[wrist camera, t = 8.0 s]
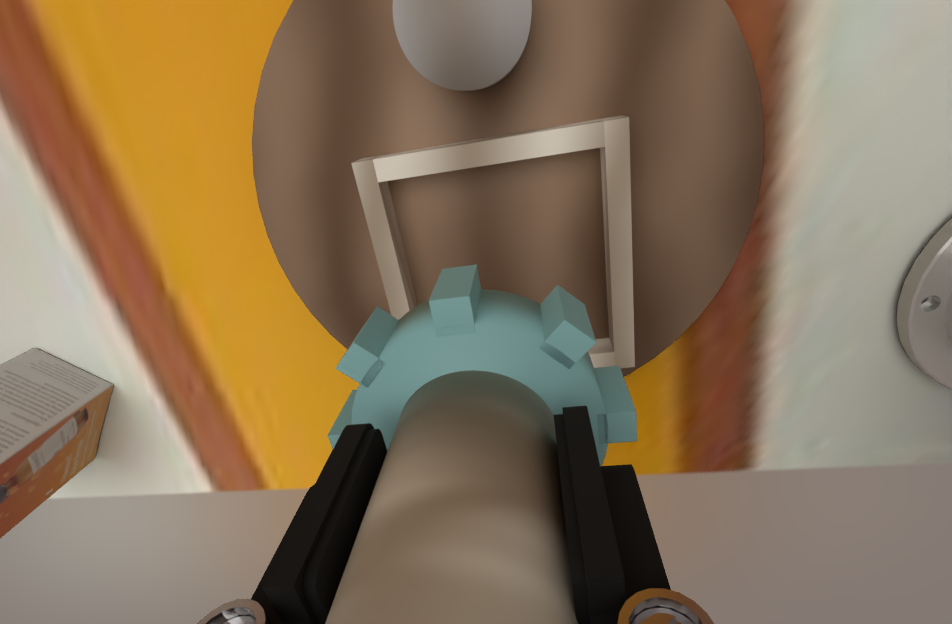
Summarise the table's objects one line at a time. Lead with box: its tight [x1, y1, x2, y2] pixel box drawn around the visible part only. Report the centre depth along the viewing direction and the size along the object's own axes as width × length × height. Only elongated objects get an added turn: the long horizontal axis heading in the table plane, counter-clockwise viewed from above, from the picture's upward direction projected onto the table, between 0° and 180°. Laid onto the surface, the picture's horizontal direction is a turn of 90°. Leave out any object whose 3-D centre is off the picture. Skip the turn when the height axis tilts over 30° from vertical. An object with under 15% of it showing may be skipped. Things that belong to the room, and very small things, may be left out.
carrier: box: [252, 0, 764, 377], centre depth 22 cm, size 24×24×4 cm
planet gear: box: [325, 264, 637, 624], centre depth 9 cm, size 8×8×9 cm
